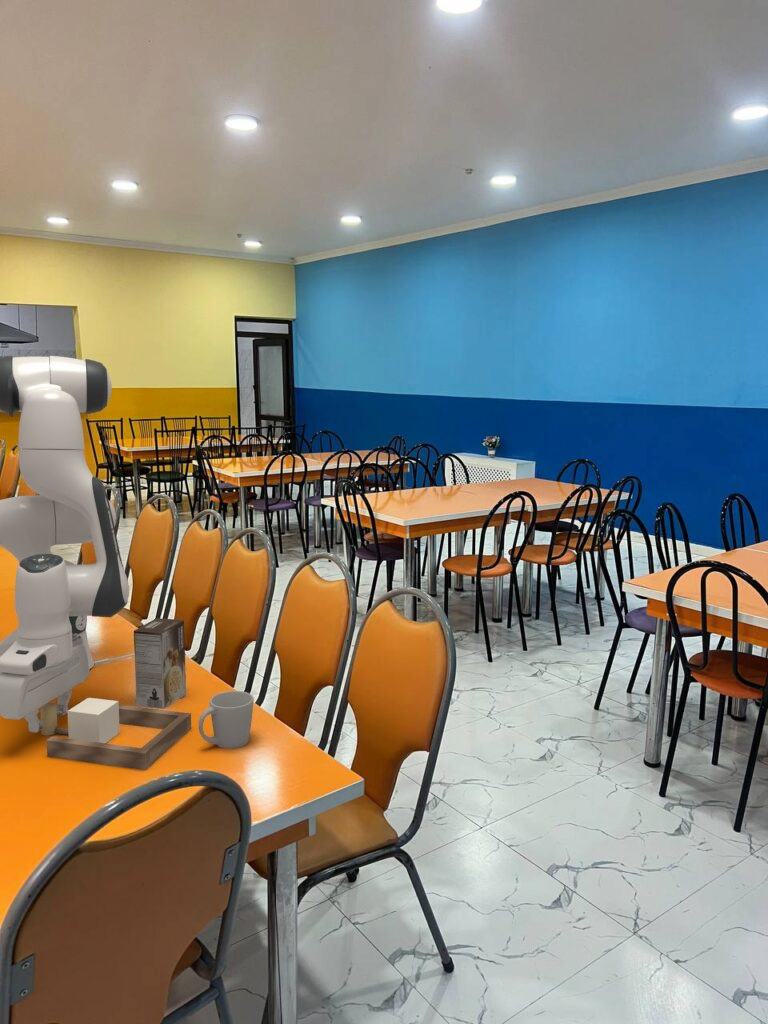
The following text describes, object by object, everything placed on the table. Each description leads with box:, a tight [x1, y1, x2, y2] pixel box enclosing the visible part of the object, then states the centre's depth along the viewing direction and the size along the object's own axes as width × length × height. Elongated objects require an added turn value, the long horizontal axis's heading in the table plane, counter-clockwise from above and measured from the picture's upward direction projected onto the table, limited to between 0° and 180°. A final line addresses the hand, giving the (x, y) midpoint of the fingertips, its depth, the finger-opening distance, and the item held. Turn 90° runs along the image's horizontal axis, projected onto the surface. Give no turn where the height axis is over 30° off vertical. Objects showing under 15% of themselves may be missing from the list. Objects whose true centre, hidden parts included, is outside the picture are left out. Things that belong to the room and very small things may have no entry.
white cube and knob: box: [39, 697, 121, 744], centre depth 131 cm, size 13×6×6 cm, turn 78°
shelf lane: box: [45, 704, 192, 771], centre depth 129 cm, size 18×16×4 cm
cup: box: [198, 690, 255, 750], centre depth 129 cm, size 8×10×8 cm
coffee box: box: [133, 617, 187, 710], centre depth 147 cm, size 9×6×16 cm
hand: (48, 722), depth 132 cm, fingers open, 5 cm apart
